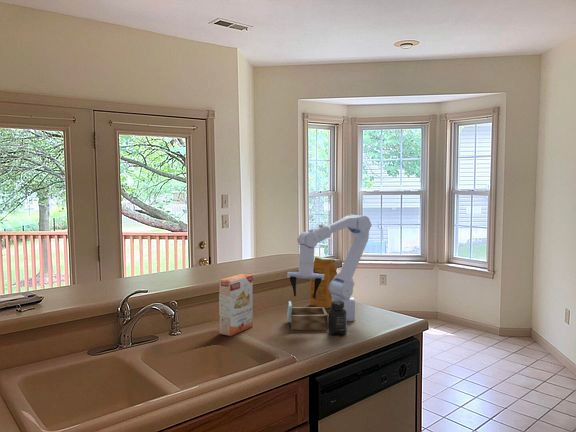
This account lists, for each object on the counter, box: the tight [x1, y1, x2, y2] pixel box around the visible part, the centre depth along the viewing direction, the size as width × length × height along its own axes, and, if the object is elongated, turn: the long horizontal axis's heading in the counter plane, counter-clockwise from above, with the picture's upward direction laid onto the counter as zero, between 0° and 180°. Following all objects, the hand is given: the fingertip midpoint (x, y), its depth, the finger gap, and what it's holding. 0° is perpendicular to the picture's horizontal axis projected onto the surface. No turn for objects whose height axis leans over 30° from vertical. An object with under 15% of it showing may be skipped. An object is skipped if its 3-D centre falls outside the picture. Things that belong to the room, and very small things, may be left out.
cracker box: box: [218, 273, 254, 337], centre depth 183 cm, size 14×6×21 cm, turn 148°
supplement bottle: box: [327, 301, 348, 337], centre depth 180 cm, size 7×7×12 cm
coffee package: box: [308, 256, 338, 310], centre depth 219 cm, size 10×12×22 cm
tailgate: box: [286, 300, 293, 324], centre depth 190 cm, size 1×9×6 cm, turn 2°
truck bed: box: [289, 306, 328, 331], centre depth 191 cm, size 14×12×6 cm
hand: (304, 296), depth 190 cm, fingers open, 7 cm apart
